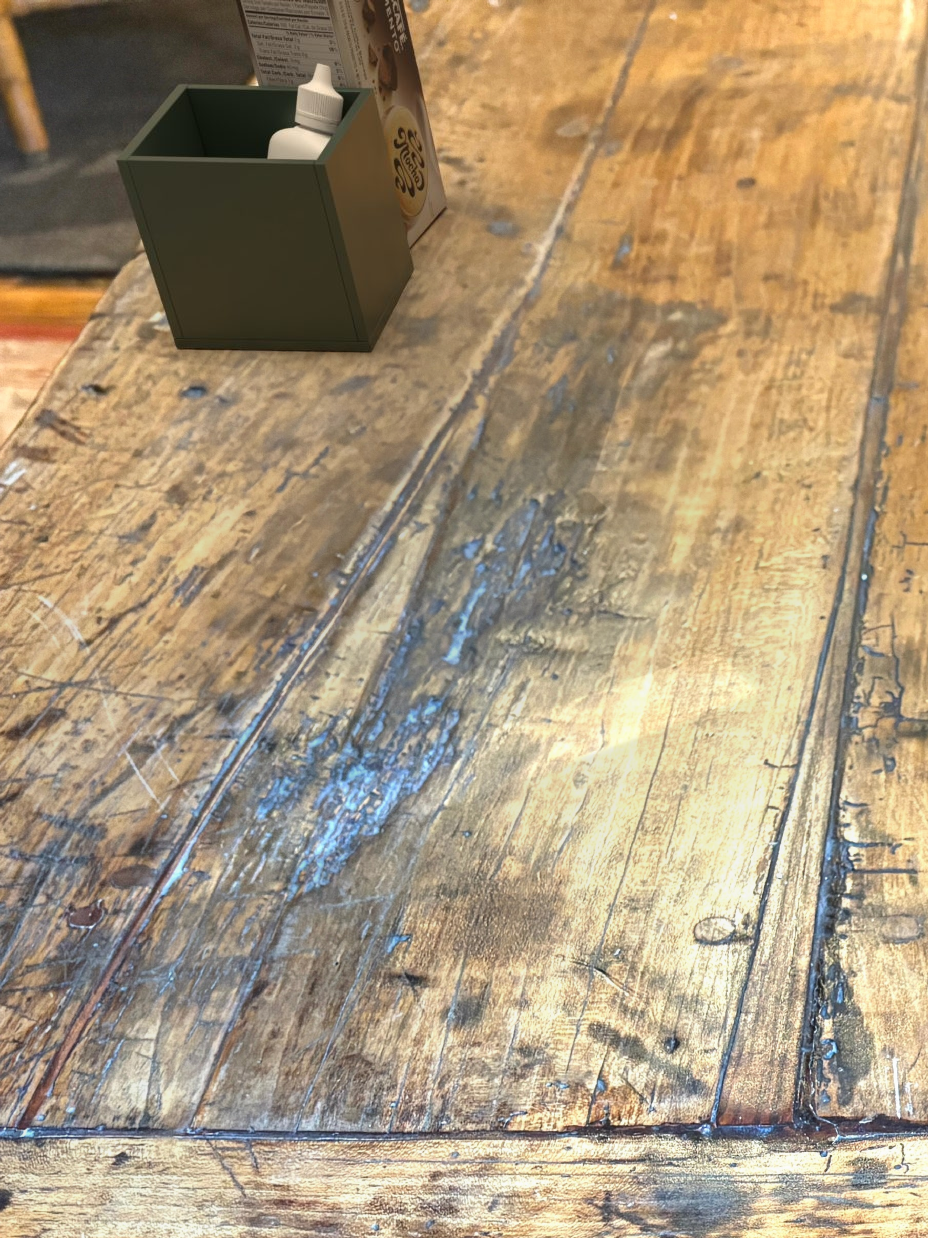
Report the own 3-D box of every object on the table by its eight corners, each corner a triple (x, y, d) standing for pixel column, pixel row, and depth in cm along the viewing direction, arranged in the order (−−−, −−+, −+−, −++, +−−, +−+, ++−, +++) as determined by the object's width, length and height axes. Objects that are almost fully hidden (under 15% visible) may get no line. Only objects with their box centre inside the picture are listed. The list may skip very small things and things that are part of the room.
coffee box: (356, 198, 130) (290, -78, 118) (450, 206, 129) (393, -70, 118) (298, 257, 123) (222, -28, 112) (397, 265, 123) (331, -20, 111)
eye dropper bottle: (328, 281, 121) (351, 69, 116) (350, 301, 117) (375, 82, 112) (252, 265, 119) (272, 48, 114) (272, 285, 115) (294, 60, 110)
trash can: (176, 348, 115) (115, 159, 107) (231, 265, 122) (178, 83, 115) (371, 352, 115) (324, 163, 107) (414, 268, 123) (373, 87, 115)
